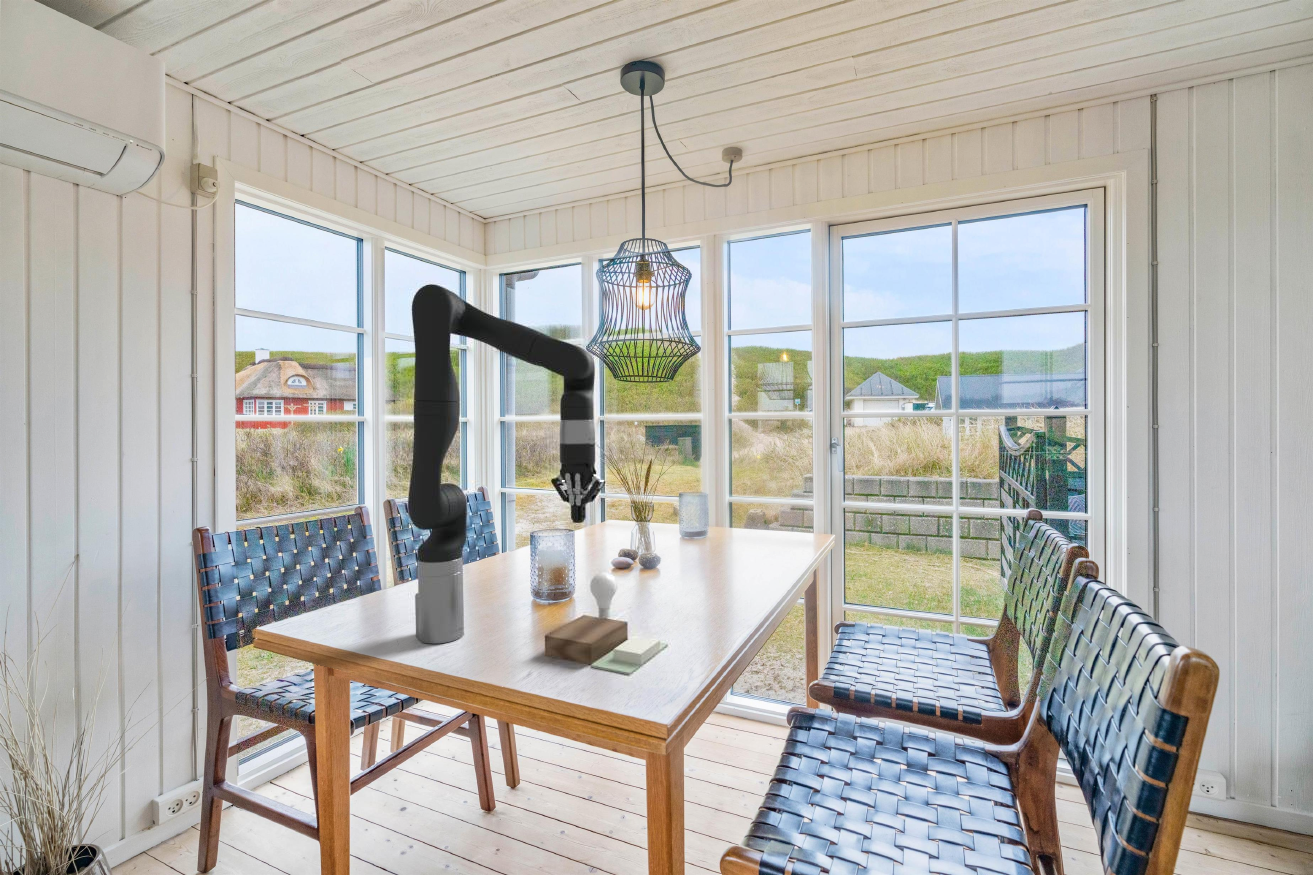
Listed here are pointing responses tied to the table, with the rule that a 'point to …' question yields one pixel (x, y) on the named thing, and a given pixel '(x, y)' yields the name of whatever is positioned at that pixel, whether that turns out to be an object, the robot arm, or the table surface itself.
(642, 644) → the white flat block
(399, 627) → the table surface
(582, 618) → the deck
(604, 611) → the lightbulb
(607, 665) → the mat
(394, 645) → the table surface
